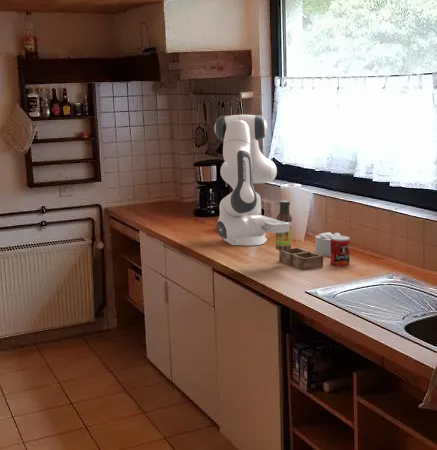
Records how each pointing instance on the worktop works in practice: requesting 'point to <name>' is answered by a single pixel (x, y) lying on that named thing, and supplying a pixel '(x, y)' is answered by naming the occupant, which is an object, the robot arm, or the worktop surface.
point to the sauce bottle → (284, 238)
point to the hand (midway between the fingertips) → (285, 222)
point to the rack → (301, 258)
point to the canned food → (340, 250)
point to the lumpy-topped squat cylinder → (324, 243)
